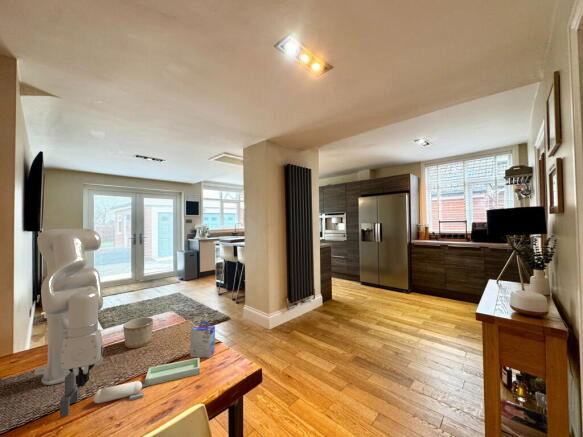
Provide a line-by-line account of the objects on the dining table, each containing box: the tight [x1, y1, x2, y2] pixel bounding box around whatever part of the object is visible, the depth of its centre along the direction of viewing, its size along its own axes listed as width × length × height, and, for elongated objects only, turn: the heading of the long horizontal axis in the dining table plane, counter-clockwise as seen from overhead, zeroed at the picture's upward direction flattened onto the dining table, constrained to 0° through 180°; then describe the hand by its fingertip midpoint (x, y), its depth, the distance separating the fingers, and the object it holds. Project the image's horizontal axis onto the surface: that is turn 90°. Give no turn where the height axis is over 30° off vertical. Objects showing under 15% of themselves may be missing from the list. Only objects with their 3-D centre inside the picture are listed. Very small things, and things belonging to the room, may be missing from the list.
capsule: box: [92, 380, 143, 404], centre depth 81 cm, size 14×4×4 cm, turn 112°
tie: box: [59, 372, 80, 418], centre depth 76 cm, size 2×7×11 cm, turn 22°
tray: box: [144, 357, 201, 387], centre depth 93 cm, size 19×8×2 cm, turn 112°
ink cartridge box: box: [189, 320, 216, 359], centre depth 107 cm, size 10×6×14 cm, turn 84°
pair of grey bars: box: [129, 382, 148, 401], centre depth 83 cm, size 4×7×1 cm, turn 22°
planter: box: [123, 317, 154, 349], centre depth 117 cm, size 13×13×10 cm
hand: (82, 384), depth 77 cm, fingers closed
